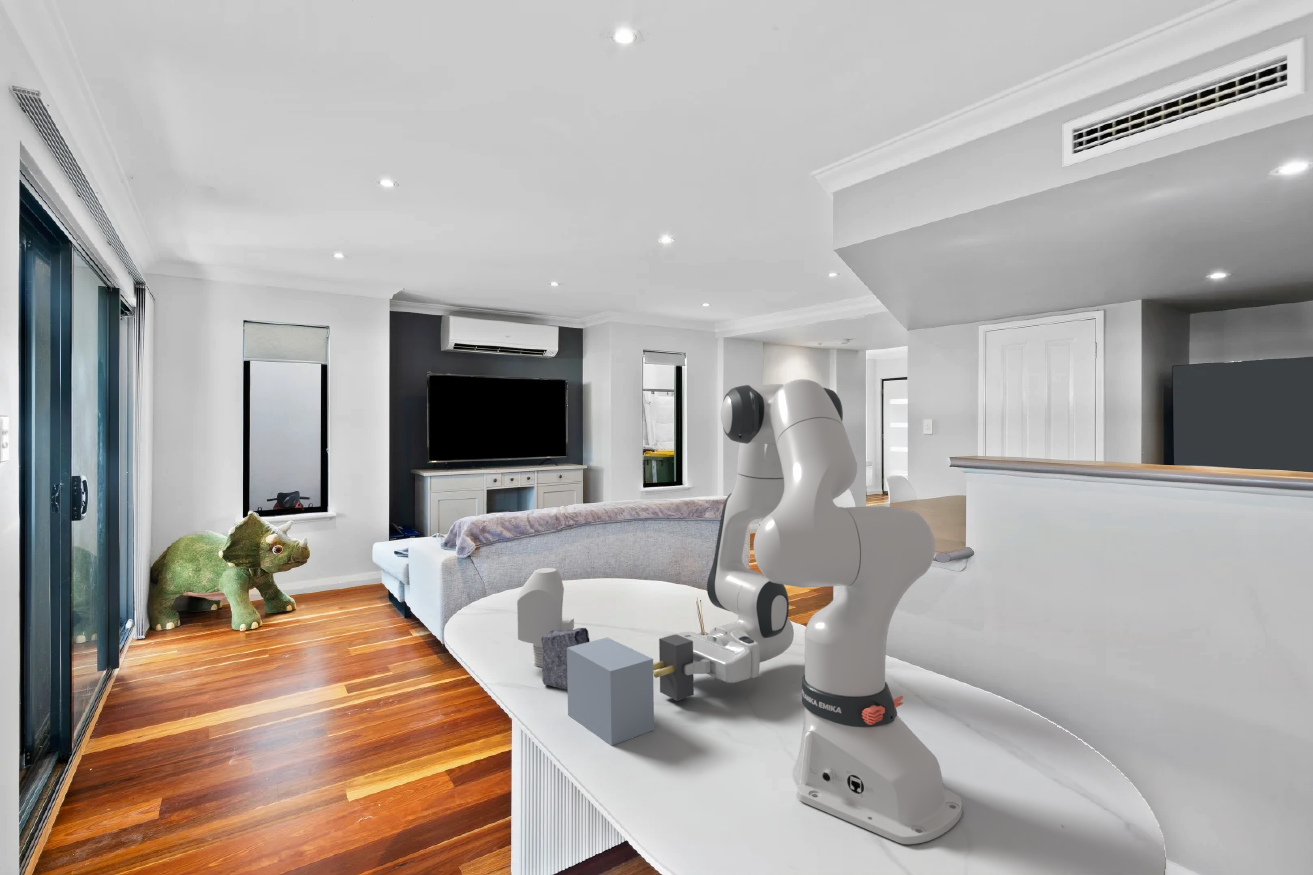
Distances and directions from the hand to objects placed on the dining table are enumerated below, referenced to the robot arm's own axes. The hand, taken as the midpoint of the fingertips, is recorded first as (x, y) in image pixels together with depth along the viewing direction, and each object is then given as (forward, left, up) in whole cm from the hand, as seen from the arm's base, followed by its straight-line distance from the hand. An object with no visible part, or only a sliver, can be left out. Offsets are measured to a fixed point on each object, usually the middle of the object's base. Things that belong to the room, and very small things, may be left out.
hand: (672, 664), depth 120 cm
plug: (0, +1, -5) cm, 6 cm away
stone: (+20, +11, -7) cm, 24 cm away
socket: (0, +14, -7) cm, 16 cm away
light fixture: (+32, +9, -7) cm, 34 cm away
